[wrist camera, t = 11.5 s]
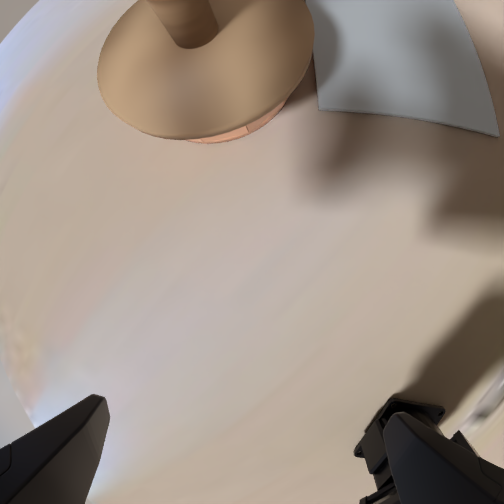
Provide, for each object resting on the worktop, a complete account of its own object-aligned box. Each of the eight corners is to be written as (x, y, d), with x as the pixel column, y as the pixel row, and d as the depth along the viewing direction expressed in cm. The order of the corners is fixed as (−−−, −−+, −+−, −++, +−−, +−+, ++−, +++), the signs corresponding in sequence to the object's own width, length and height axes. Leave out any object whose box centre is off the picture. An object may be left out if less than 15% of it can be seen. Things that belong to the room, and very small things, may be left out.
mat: (451, 1, 14) (452, -1, 14) (497, 137, 16) (499, 136, 15) (299, -29, 16) (299, -32, 16) (318, 110, 18) (319, 108, 17)
